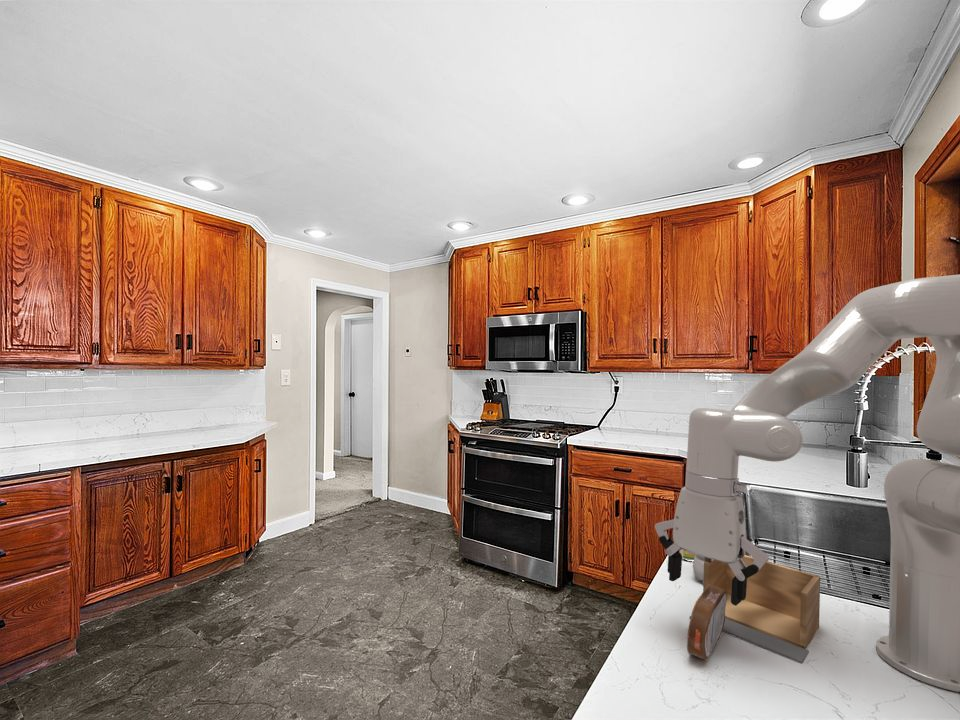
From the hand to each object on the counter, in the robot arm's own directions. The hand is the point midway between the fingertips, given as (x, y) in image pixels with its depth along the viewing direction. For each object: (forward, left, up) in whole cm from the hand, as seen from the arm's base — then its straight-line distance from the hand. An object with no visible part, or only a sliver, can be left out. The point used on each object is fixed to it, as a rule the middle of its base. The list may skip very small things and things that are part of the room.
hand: (704, 590), depth 76 cm
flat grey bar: (-4, -9, -9) cm, 13 cm away
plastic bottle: (+8, -26, -9) cm, 28 cm away
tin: (-1, -1, -9) cm, 9 cm away
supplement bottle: (+17, -35, -9) cm, 39 cm away
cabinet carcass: (-4, -17, -9) cm, 19 cm away
